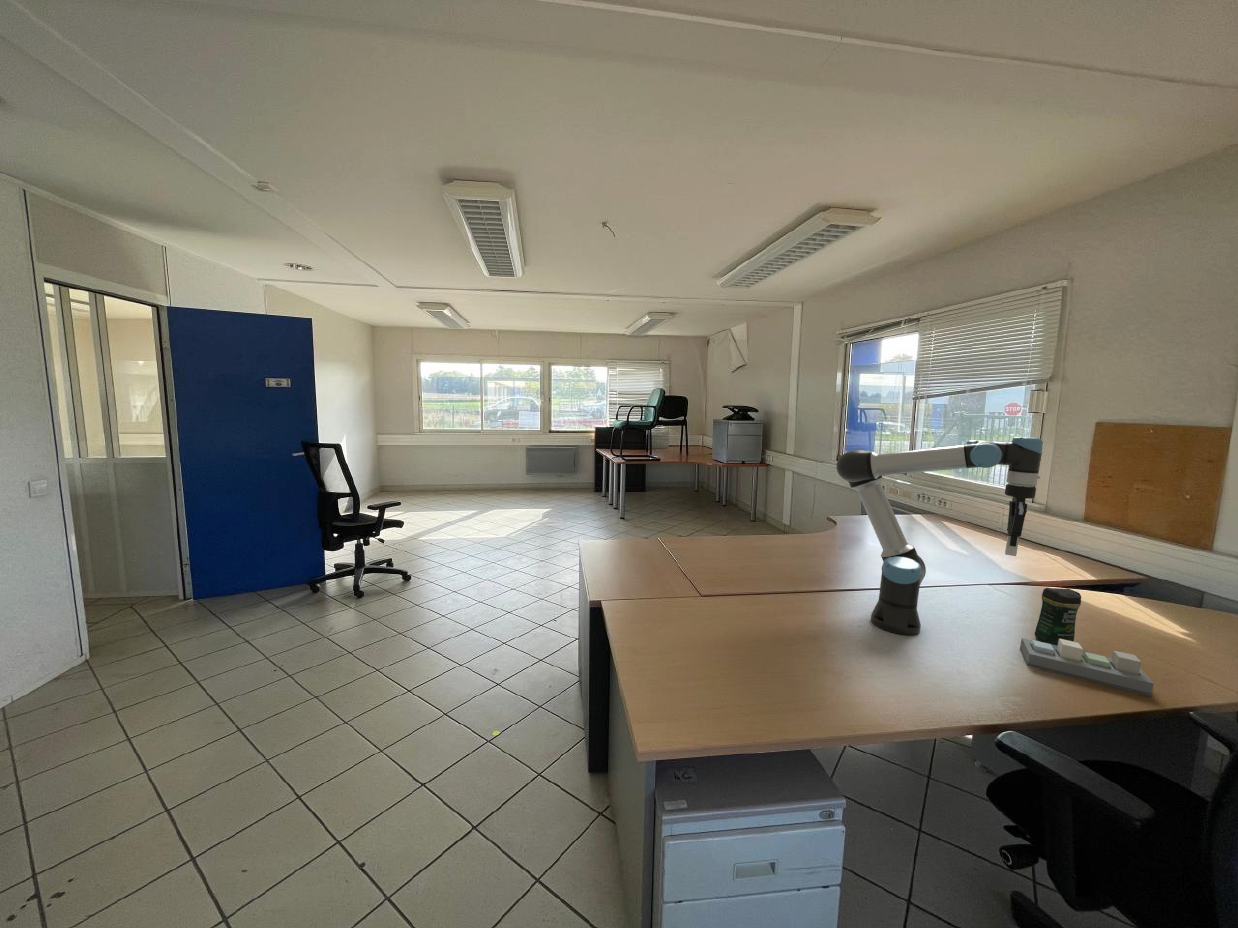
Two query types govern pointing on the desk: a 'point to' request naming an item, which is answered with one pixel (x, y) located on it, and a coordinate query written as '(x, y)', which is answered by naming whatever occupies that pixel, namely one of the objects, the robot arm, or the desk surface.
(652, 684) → the desk surface
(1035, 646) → the key blue
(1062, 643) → the key cream
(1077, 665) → the keypad
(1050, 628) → the coffee jar
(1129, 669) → the key grey
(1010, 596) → the desk surface
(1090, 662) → the key sage
